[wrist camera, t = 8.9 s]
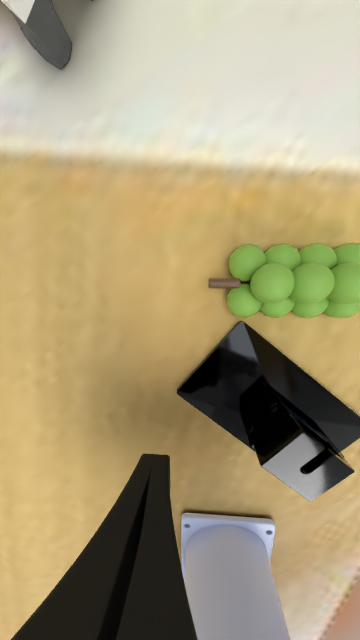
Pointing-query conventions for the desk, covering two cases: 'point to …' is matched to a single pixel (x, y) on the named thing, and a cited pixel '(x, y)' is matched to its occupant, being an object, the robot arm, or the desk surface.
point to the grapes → (294, 281)
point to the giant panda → (42, 29)
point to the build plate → (274, 411)
